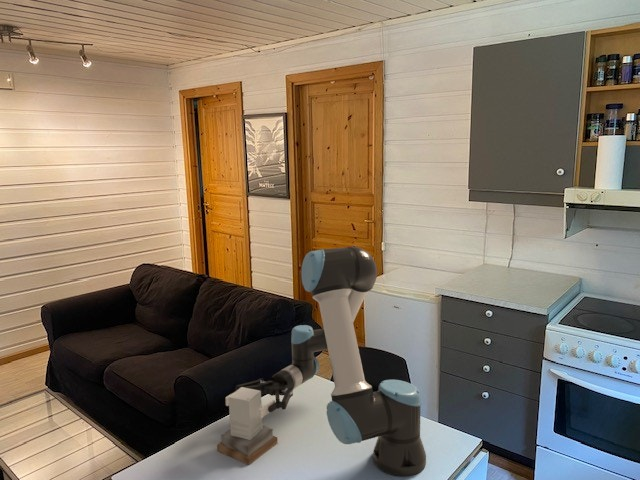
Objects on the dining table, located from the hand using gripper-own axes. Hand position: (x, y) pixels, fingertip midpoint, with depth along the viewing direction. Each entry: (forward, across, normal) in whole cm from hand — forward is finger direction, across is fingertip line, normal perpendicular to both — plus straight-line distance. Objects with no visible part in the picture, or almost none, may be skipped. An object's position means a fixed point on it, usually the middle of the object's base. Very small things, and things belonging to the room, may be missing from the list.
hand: (242, 407), depth 146 cm
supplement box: (-1, 0, -9) cm, 9 cm away
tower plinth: (-1, 0, -14) cm, 14 cm away
